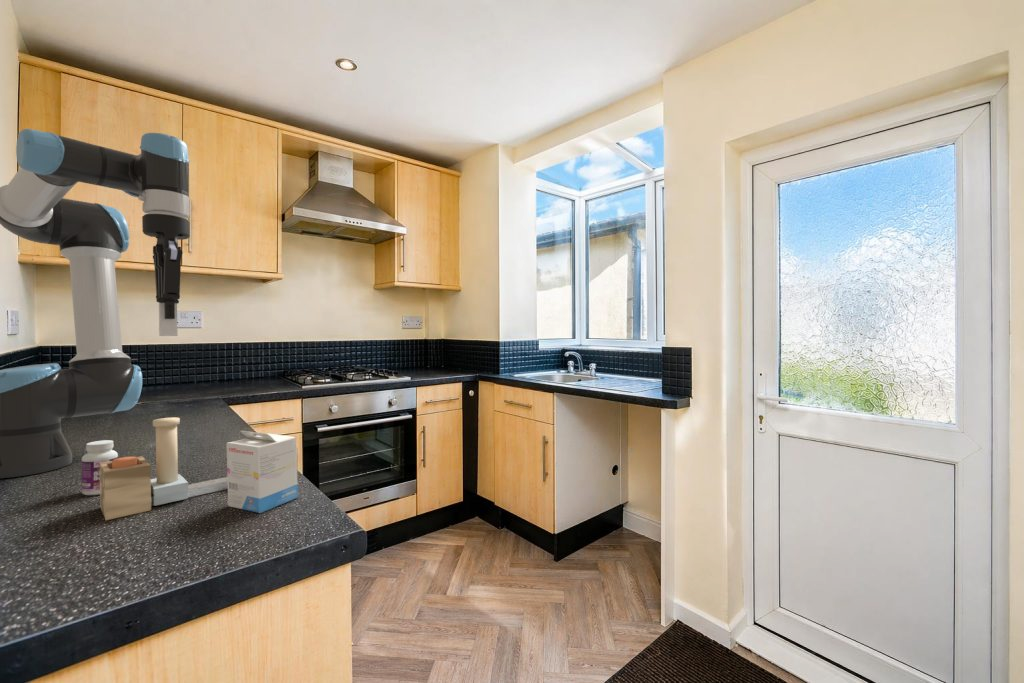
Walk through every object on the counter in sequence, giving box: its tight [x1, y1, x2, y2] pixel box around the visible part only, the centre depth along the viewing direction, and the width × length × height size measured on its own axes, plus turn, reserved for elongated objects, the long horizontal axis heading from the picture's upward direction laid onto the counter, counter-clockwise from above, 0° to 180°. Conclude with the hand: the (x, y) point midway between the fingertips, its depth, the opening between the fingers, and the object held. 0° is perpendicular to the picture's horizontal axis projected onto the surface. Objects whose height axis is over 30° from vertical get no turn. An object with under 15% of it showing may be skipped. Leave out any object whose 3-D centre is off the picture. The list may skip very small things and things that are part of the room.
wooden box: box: [99, 455, 152, 521], centre depth 82 cm, size 8×6×8 cm
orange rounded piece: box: [112, 456, 138, 469], centre depth 82 cm, size 3×3×4 cm
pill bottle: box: [81, 439, 119, 496], centre depth 90 cm, size 5×5×10 cm
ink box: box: [226, 430, 299, 514], centre depth 85 cm, size 9×8×13 cm
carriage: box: [151, 416, 189, 506], centre depth 86 cm, size 7×5×15 cm
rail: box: [151, 476, 228, 507], centre depth 89 cm, size 6×15×3 cm, turn 137°
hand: (168, 335), depth 92 cm, fingers closed
